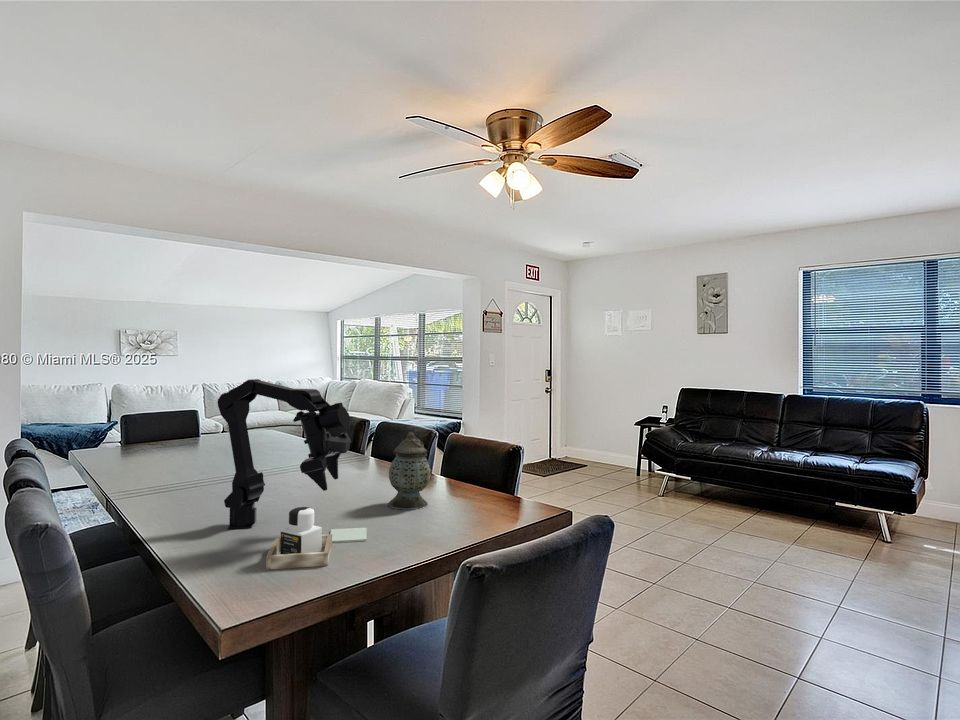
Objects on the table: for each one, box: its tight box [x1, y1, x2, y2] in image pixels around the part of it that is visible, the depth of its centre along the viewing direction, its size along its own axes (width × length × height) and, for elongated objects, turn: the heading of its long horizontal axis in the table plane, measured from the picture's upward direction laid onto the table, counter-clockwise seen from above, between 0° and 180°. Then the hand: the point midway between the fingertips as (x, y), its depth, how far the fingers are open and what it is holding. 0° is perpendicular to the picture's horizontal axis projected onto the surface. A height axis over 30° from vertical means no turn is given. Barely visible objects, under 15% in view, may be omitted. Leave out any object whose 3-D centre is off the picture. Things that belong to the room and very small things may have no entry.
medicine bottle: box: [279, 506, 323, 554], centre depth 133 cm, size 7×7×12 cm
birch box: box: [265, 533, 333, 570], centre depth 133 cm, size 14×14×3 cm
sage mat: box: [329, 527, 368, 544], centre depth 149 cm, size 10×10×1 cm
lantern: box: [387, 431, 432, 511], centre depth 181 cm, size 14×14×25 cm
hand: (331, 484), depth 152 cm, fingers open, 9 cm apart
